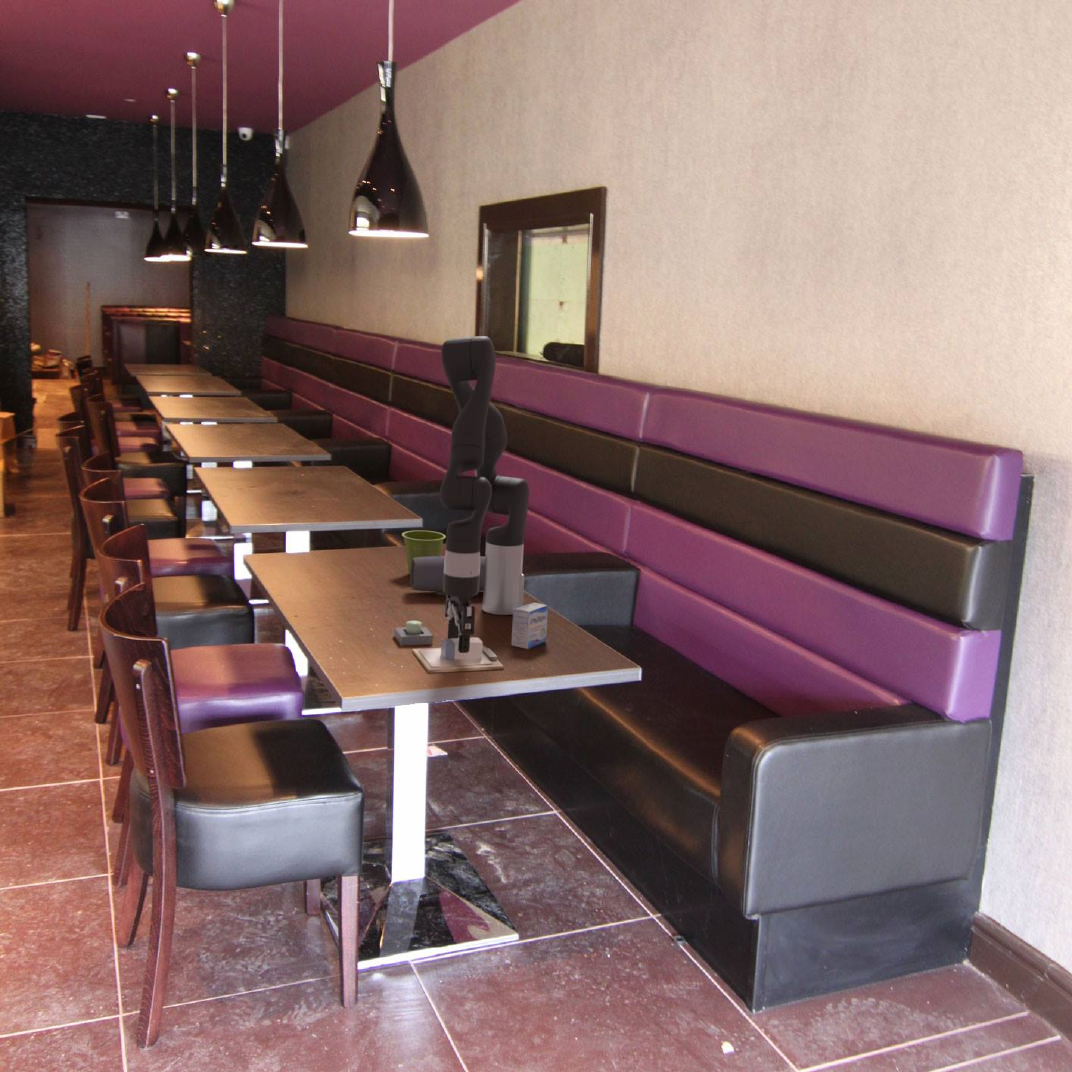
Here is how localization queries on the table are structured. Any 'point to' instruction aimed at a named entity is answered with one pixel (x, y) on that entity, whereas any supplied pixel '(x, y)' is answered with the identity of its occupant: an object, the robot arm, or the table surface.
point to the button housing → (413, 637)
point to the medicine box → (529, 625)
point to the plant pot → (422, 544)
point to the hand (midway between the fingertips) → (458, 646)
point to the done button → (413, 627)
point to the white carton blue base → (451, 651)
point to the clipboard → (456, 661)
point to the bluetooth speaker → (434, 574)
